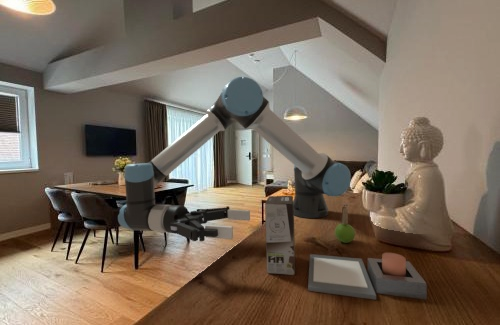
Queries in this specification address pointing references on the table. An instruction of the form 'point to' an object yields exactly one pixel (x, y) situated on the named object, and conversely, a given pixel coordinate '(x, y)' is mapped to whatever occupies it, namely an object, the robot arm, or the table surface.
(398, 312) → the table surface
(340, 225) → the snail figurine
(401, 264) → the button
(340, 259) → the drawing board
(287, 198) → the coffee box
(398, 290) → the button housing
